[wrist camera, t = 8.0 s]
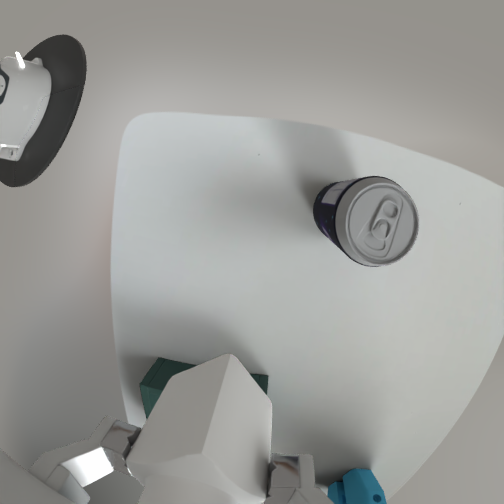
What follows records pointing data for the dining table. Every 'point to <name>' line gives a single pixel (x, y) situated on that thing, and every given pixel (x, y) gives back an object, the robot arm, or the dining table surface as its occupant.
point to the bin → (162, 374)
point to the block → (357, 489)
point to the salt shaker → (206, 438)
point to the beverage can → (368, 219)
